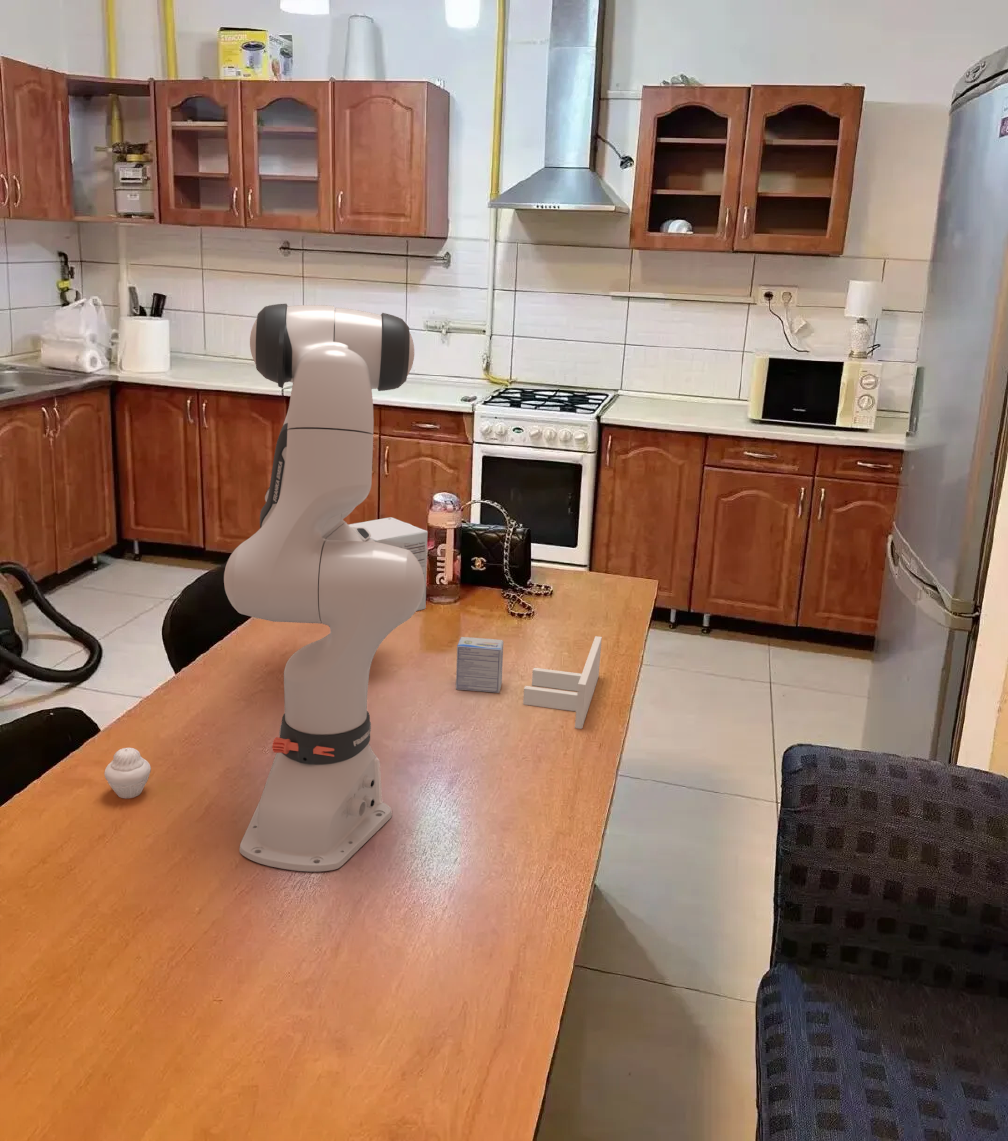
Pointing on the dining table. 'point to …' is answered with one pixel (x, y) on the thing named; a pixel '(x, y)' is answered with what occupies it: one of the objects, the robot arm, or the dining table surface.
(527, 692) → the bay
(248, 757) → the dining table surface
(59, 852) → the dining table surface
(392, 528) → the supplement box
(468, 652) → the medicine box
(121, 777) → the muffin
